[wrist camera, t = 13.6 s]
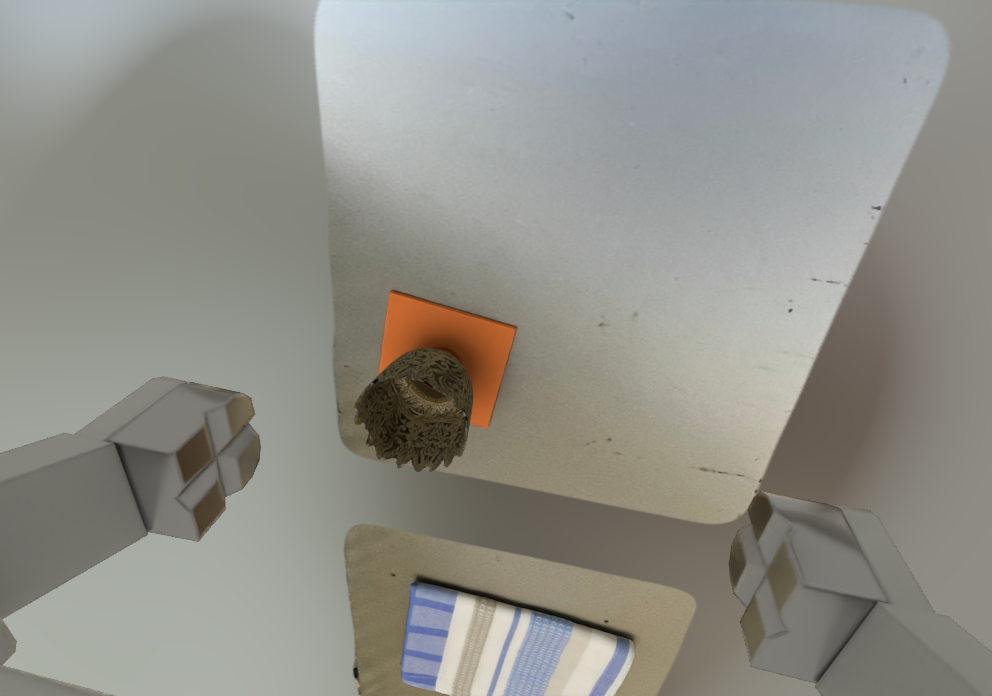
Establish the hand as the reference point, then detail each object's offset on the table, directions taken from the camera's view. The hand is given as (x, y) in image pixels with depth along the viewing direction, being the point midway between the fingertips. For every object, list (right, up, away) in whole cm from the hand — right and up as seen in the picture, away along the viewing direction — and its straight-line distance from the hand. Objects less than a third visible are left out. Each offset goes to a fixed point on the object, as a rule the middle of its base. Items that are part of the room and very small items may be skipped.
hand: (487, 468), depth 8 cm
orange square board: (-4, +1, +32) cm, 32 cm away
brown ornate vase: (-4, +1, +32) cm, 32 cm away
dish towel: (+2, -31, +49) cm, 58 cm away
